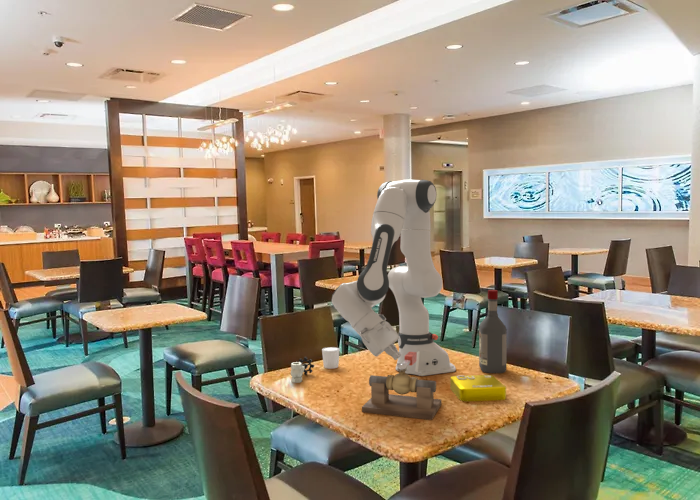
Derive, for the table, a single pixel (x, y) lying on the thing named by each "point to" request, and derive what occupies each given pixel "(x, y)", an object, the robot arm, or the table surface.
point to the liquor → (492, 339)
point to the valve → (300, 369)
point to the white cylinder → (330, 357)
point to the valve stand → (402, 397)
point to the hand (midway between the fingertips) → (398, 357)
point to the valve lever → (407, 361)
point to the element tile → (477, 388)
